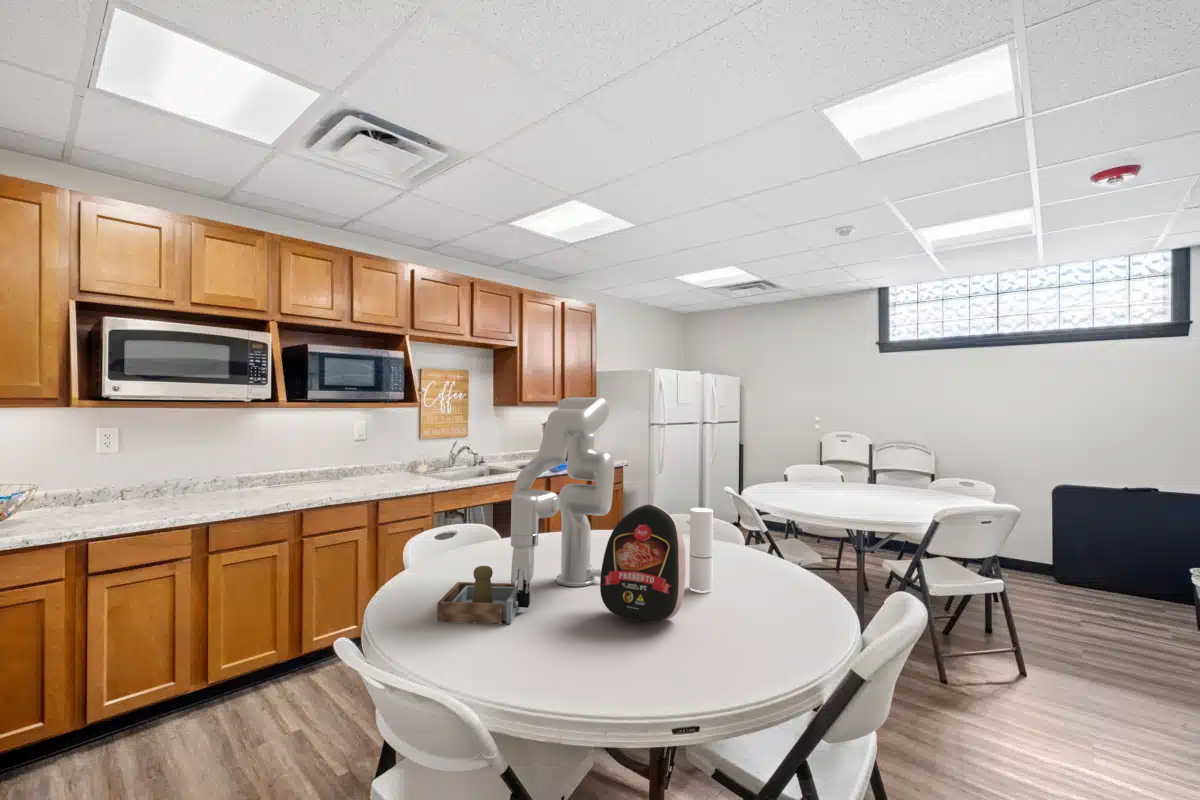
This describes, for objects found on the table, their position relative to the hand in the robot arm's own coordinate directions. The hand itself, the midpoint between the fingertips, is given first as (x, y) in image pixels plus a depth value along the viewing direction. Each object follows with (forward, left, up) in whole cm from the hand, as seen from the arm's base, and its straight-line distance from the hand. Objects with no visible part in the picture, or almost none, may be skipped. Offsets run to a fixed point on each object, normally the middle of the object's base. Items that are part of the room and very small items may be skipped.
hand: (523, 606), depth 147 cm
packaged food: (-33, +1, -2) cm, 33 cm away
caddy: (+12, 0, -2) cm, 12 cm away
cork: (+11, 0, -1) cm, 11 cm away
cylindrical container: (-52, -23, -2) cm, 57 cm away
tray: (+9, 0, -1) cm, 9 cm away
